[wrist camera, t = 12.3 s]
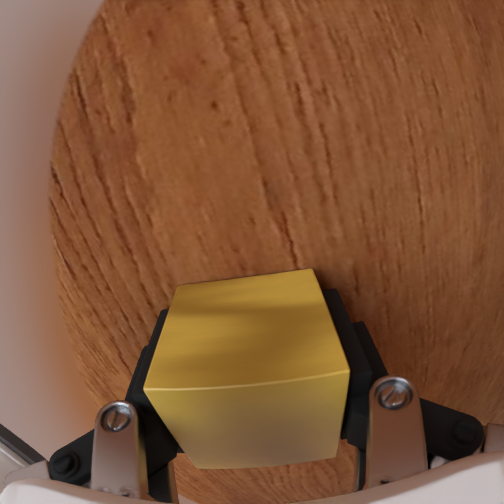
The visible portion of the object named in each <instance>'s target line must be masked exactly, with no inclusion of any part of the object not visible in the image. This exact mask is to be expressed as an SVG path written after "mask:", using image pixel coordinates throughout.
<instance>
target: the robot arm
mask: <svg viewBox="0 0 504 504" xmlns="http://www.w3.org/2000/svg"><path fill="white" fill-rule="evenodd" d="M322 294H323V296H324V299H325V302H326V304H327V307H328V309H329V312H330V315H331V317H332V320H333V323H334V326H335V328H336V331H337V334H338V336H339V339H340V342H341V345H342V348H343V350H344V353H345V356H346V359H347V362H348V365H349V368H350V378H349V385H348V392H347V399H346V406H345V412H344V418H343V424H342V429H341V439H342V440H343V439H347V442H348V443H349V444H351V445H353V446H355V466H354V481H353V493H349V494H344V495H339V496H334V497H329V498H323V499H317V500H311V501H303V502H296V503H287V504H504V425H499V424H491V423H488V424H487V425H486V426H483V425H481V423H480V422H479V421H478V420H477V419H476V418H475V417H473V416H471V415H468V414H465V413H462V412H459V411H456V410H453V409H450V408H447V407H444V406H441V405H439V404H436V403H433V402H430V401H428V400H425V399H422V398H419V393H418V390H417V387H416V385H415V384H414V383H413V382H412V381H411V380H410V379H408V378H406V377H404V376H400V375H388V373H387V370H386V368H385V366H384V364H383V362H382V359H381V357H380V355H379V353H378V351H377V349H376V347H375V344H374V342H373V340H372V338H371V336H370V334H369V332H368V330H367V328H366V326H365V324H364V322H362V321H360V322H354V323H351V320H350V318H349V316H348V314H347V311H346V309H345V307H344V305H343V302H342V300H341V298H340V296H339V294H338V291H337V290H336V289H330V290H323V291H322ZM168 312H169V309H164V310H162V311H161V312H160V315H159V318H158V320H157V323H156V326H155V328H154V331H153V334H152V336H151V339H150V342H149V344H148V345H147V346H145V347H144V348H143V350H142V352H141V355H140V358H139V360H138V363H137V366H136V369H135V371H134V374H133V377H132V380H131V383H130V385H129V388H128V391H127V394H126V397H125V400H116V401H112V402H110V403H108V404H106V405H104V406H103V407H102V408H101V409H100V411H99V412H98V414H97V416H96V420H95V429H93V430H91V431H90V432H88V433H87V434H85V435H83V436H81V437H80V438H78V439H76V440H75V441H73V442H71V443H69V444H68V445H66V446H64V447H62V448H61V449H59V450H57V451H56V452H55V453H54V454H53V455H52V456H51V458H50V461H49V462H48V461H47V460H43V461H41V462H38V463H35V464H32V465H30V464H29V463H28V462H27V461H25V460H24V459H23V458H22V457H20V456H19V455H18V454H17V453H15V452H14V451H13V450H11V449H10V448H9V447H7V446H6V445H5V444H3V443H2V442H1V441H0V504H179V500H178V493H177V487H176V480H175V473H174V466H173V459H174V458H175V457H176V456H177V453H185V452H184V451H183V450H182V448H181V447H180V445H179V444H178V443H177V441H176V440H175V438H174V437H173V435H172V434H171V433H170V431H169V430H168V428H167V427H166V425H165V424H164V422H163V421H162V419H161V418H160V416H159V414H158V413H157V411H156V410H155V408H154V407H153V405H152V403H151V402H150V400H149V399H148V397H147V395H146V394H145V392H144V389H143V387H144V384H145V381H146V378H147V374H148V371H149V368H150V365H151V362H152V359H153V356H154V353H155V350H156V347H157V344H158V341H159V338H160V335H161V332H162V329H163V326H164V323H165V320H166V317H167V315H168Z"/></svg>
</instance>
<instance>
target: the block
mask: <svg viewBox="0 0 504 504" xmlns="http://www.w3.org/2000/svg"><path fill="white" fill-rule="evenodd" d="M349 378H350V368H349V365H348V362H347V359H346V356H345V353H344V350H343V348H342V345H341V342H340V339H339V336H338V334H337V331H336V328H335V326H334V323H333V320H332V317H331V315H330V312H329V309H328V307H327V304H326V302H325V299H324V296H323V294H322V291H321V289H320V286H319V283H318V281H317V278H316V276H315V273H314V271H313V269H305V270H297V271H290V272H283V273H275V274H268V275H260V276H252V277H244V278H236V279H228V280H220V281H212V282H203V283H195V284H186V285H179V286H178V287H177V289H176V292H175V295H174V298H173V301H172V303H171V306H170V309H169V312H168V315H167V317H166V320H165V323H164V326H163V329H162V332H161V335H160V338H159V341H158V344H157V347H156V350H155V353H154V356H153V359H152V362H151V365H150V368H149V371H148V374H147V378H146V381H145V384H144V387H143V389H144V392H145V394H146V395H147V397H148V399H149V400H150V402H151V403H152V405H153V407H154V408H155V410H156V411H157V413H158V414H159V416H160V418H161V419H162V421H163V422H164V424H165V425H166V427H167V428H168V430H169V431H170V433H171V434H172V435H173V437H174V438H175V440H176V441H177V443H178V444H179V445H180V447H181V448H182V450H183V451H184V452H185V454H186V455H187V456H188V458H189V459H190V460H191V462H192V463H193V464H194V466H195V467H196V468H198V469H235V468H255V467H269V466H279V465H288V464H296V463H303V462H310V461H316V460H322V459H328V458H333V457H336V455H337V450H338V445H339V440H340V435H341V429H342V424H343V418H344V412H345V406H346V399H347V392H348V385H349Z"/></svg>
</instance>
